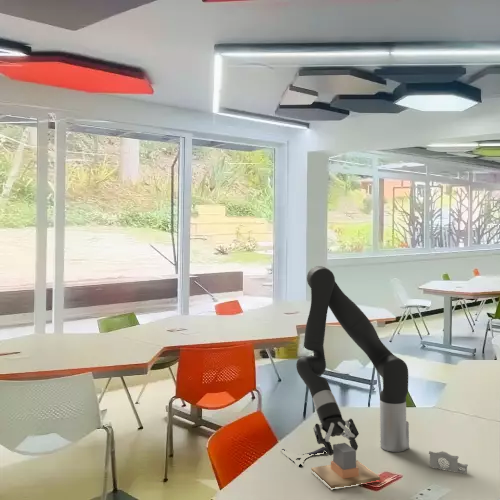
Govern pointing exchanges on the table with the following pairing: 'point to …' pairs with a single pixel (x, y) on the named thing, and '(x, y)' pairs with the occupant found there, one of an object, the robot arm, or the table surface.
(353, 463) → the block
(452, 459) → the garden wall model
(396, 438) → the robot arm
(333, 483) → the oak board
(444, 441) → the table surface
